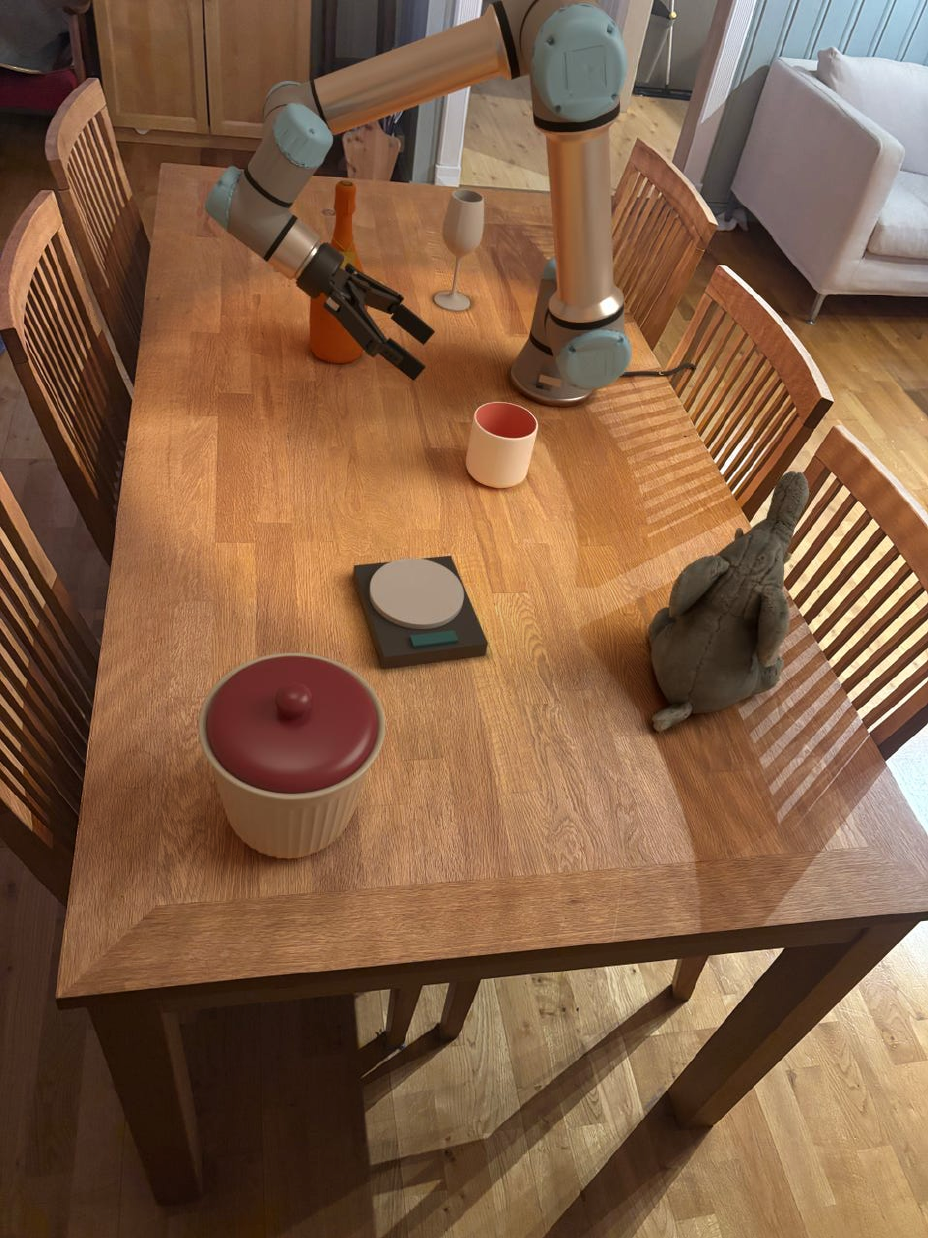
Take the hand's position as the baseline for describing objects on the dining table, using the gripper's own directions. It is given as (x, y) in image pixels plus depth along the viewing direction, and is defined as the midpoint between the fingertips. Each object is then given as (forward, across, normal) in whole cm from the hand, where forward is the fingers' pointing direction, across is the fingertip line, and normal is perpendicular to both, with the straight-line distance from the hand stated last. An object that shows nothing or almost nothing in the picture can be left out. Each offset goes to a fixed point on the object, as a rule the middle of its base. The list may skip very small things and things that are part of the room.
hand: (425, 355), depth 145 cm
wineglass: (+6, -52, -8) cm, 53 cm away
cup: (+20, +1, -8) cm, 22 cm away
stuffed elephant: (+49, +38, +4) cm, 62 cm away
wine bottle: (-8, -26, -20) cm, 34 cm away
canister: (+9, +69, -24) cm, 73 cm away
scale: (+16, +36, -16) cm, 42 cm away
